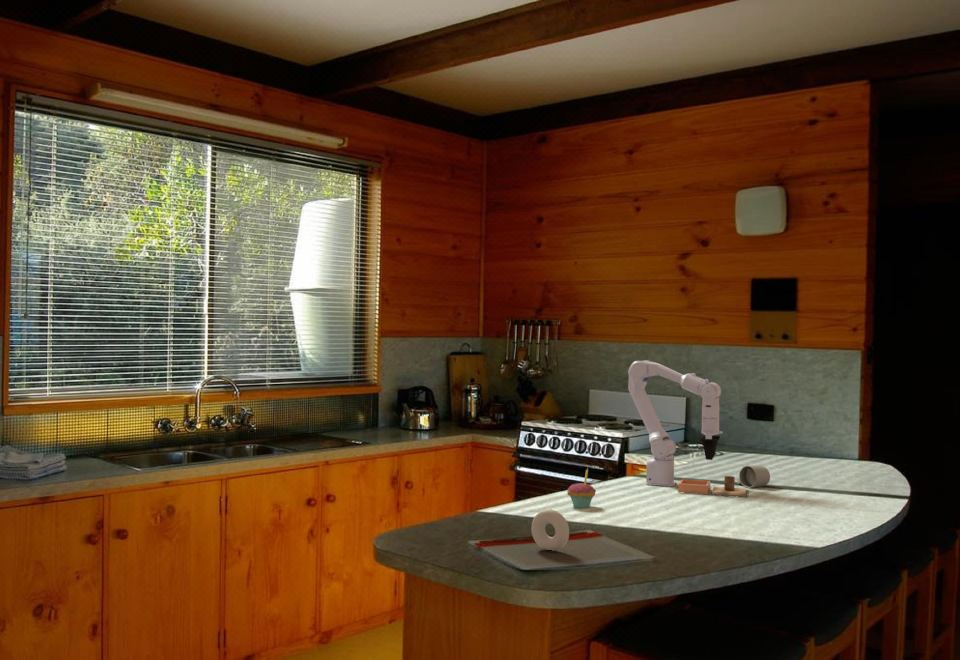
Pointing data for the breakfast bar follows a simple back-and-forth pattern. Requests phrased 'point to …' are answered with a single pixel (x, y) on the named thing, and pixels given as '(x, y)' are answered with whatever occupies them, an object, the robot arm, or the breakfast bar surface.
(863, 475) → the breakfast bar surface
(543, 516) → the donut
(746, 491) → the mat
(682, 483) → the dish
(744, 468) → the ceramic mug
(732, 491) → the lid
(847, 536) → the breakfast bar surface
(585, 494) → the cupcake
